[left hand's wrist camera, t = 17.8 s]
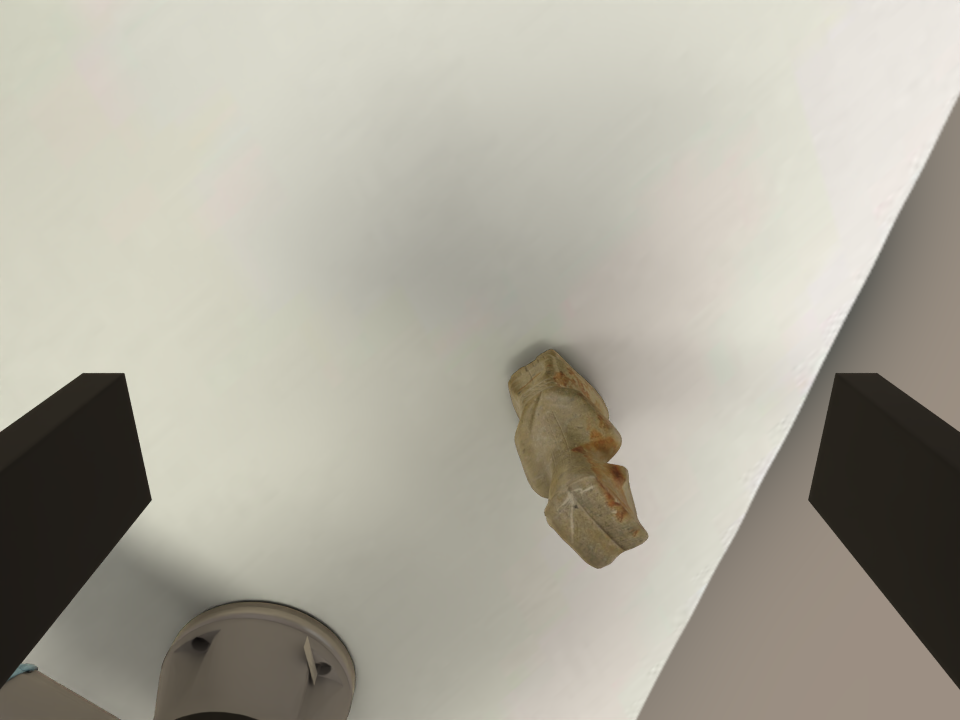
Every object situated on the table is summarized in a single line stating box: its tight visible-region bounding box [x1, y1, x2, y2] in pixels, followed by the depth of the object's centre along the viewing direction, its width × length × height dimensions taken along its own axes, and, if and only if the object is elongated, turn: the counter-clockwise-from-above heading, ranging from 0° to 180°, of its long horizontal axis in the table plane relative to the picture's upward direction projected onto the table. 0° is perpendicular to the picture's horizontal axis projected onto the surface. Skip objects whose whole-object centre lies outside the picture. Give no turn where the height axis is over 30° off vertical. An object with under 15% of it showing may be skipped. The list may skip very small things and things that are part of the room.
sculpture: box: [508, 349, 648, 569], centre depth 39 cm, size 6×7×15 cm
